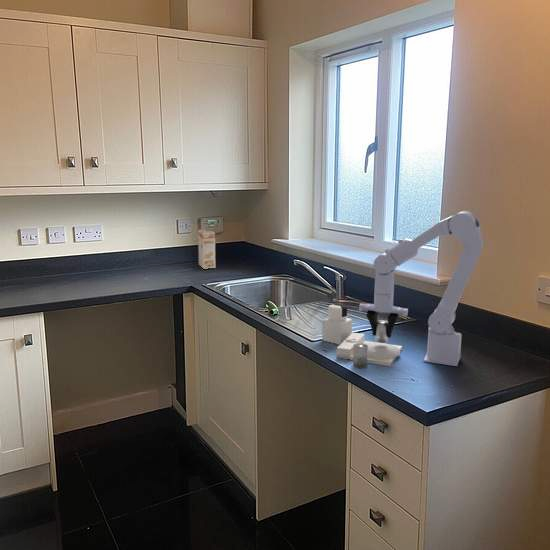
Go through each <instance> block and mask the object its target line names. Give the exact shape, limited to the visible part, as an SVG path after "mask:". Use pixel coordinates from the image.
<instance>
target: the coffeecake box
mask: <svg viewBox="0 0 550 550" xmlns="http://www.w3.org/2000/svg"><path fill="white" fill-rule="evenodd" d="M197 243H198V244H197V245H198V247H197V248H198V266H199V265H200V266H201V267H202V268H203V269H208V268H217V267H216V266H217V265H216V264H217V263H216V233H215V232H214V231H213V230H212V229H210V228H209V229H205V228H204V229H198V230H197ZM200 266H199V267H200ZM201 267H200V268H201ZM202 268H201V269H202ZM203 269H202V270H203Z"/></svg>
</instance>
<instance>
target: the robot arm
mask: <svg viewBox="0 0 550 550" xmlns="http://www.w3.org/2000/svg"><path fill="white" fill-rule="evenodd" d="M452 234H453V235H454V236H455V237H456V238H457V239H458V241H459V242H460V244H461V246H462V248H463V250H462V253H461V255H460V258H459V260H458V262H457V264H456V267H455V269H454V270H453V271H454V272H453V273H452V275H451V277H450V280H449V283H448V285H447V287H446V288H445V291H444V293H443V296H442V297H441V300H440V302H439V303H438V306H437V307H436V308H435V309H434V312H433V313H431V315H429V317H428V320H427V323H428V331H427V332H428V334H427V348H426V355H425V356H424V358H423V362H425V363H434V364H439V365H440V364H441V365H447V366H454V367H458V364H459V362H460V359H461V357H462V352H461V349H462V333H460V332H456V331H455V328H454V327H453V325H452V324H453V323H454V322H455V320H456V310H457V307H458V304H459V302H460V300H461V298H462V295H463V293H464V292H465V289H466V287H467V285H468V282H469V281H470V278H471V276H472V274H473V271H474V269H475V267H476V265H477V262H478V261H479V259H480V256H481V254H482V252H483V249H484V239H483V235H482V231H481V223H480V221H479V219H478V218H477V216H476V214H475V213H473V212H472V211H471V210H461V211H459V212H458V213H456V214H455V215H454V214H453V215H451V216H449V217H447V218H444V219H443V220H439V222H437V223H435V224H433V225H432V226H431V227H430V228H428V229H426V230H425V231H423V232H422V233H420V234H419V235H417V236H416V237H415V238H412V239H411V238H405V239H403V238H401V239H399V240H398V241H397V243H396V244H395V245H393V246H392V247H390V248H386V249H385V250H384V253H382V254H379V255H378V256H377V257H376V258H375V259H374V260H373V268H374V271H375V276H374V292H373V293H374V294H373V295H374V296H373V303H360V304H359V307H358V311H359V312H366V318H367V320H368V321H369V324H370V328H371V334H372V336H374V337H375V331H376V321H378V316H379V315H378V314H379V313H380V314H388V316H387V321H388V334H387V336H388V339H389V338H391V337H392V333H393V330H394V327H395V325H396V322H397V320H398V318H399V317H400V316H402V317H407V316H408V314H409V313H408V312H409V308H404V307H400V306H395V305H394V295H395V269H396V268H397V267H400V266H401V265H403V264H405V263H407V262H408V261H410V260H411V259H412V258H414V257H416V256H418V253H419V249H420V248H422V247H423V246H425V245H427V244H428V243H430V242H432V241H433V240H435V239H437V238H439V237H440V236H451V235H452Z"/></svg>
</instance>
